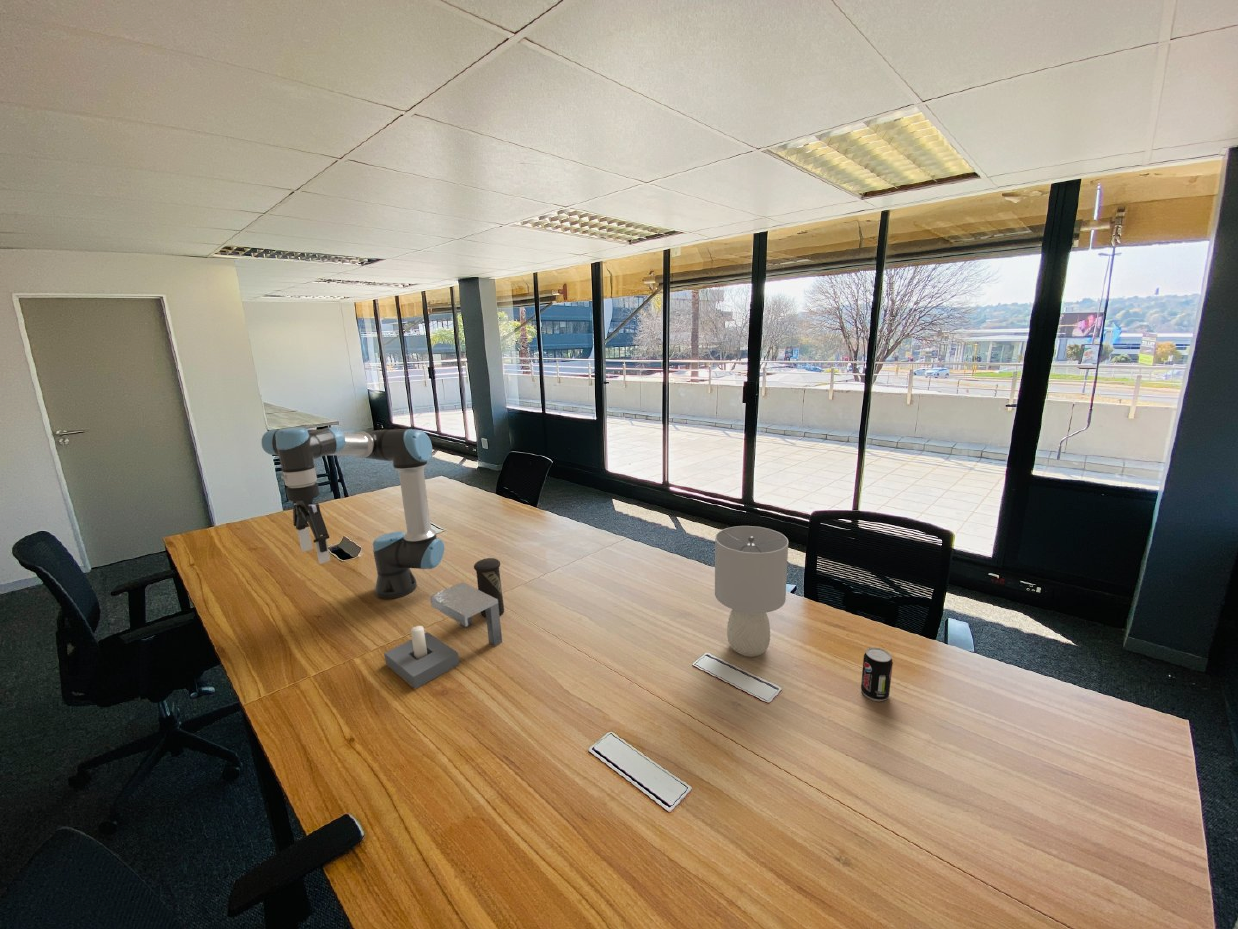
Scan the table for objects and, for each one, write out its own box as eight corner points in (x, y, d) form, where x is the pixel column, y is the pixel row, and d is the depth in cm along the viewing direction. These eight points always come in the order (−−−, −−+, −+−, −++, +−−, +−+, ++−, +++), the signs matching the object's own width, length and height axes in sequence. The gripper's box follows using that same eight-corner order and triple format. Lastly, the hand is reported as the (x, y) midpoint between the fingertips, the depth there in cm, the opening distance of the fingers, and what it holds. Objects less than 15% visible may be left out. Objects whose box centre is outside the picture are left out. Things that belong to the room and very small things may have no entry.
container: (498, 620, 172) (493, 567, 167) (475, 618, 174) (469, 566, 169) (509, 607, 180) (504, 556, 175) (486, 605, 182) (480, 555, 177)
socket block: (386, 664, 150) (384, 653, 149) (428, 643, 160) (427, 632, 159) (415, 689, 138) (413, 677, 137) (459, 664, 148) (458, 652, 148)
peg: (413, 665, 149) (408, 630, 146) (424, 659, 152) (419, 624, 149) (419, 669, 147) (414, 634, 144) (431, 663, 149) (425, 628, 146)
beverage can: (887, 706, 125) (892, 665, 122) (859, 697, 129) (862, 657, 126) (889, 691, 131) (894, 651, 128) (862, 682, 134) (865, 643, 131)
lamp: (783, 636, 156) (788, 527, 148) (782, 676, 138) (787, 554, 129) (719, 626, 163) (720, 521, 154) (709, 663, 144) (710, 547, 136)
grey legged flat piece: (435, 637, 163) (429, 596, 159) (467, 621, 172) (462, 582, 168) (470, 660, 150) (464, 615, 146) (502, 642, 159) (497, 599, 155)
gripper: (271, 480, 140) (286, 549, 145) (302, 495, 124) (317, 572, 129) (301, 474, 146) (314, 541, 151) (334, 488, 130) (347, 562, 135)
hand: (315, 556), depth 140 cm, fingers open, 13 cm apart
